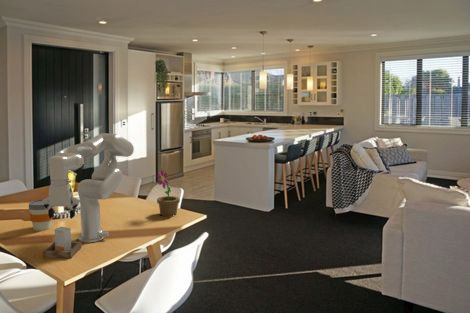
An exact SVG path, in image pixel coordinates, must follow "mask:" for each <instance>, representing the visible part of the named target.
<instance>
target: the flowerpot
mask: <svg viewBox="0 0 470 313" xmlns="http://www.w3.org/2000/svg"><path fill="white" fill-rule="evenodd" d="M167 177H168V172H164V170H163V168H160V173H158V174H157V178H158V179H159V182H158V185H159V186H161V185H162V188H163V189H166V188H167V190H166V191H164V194H166V196H165V195H163V196H159V197H158V198H156V203H157V204H158V208H159V215H160V214H161V215H164V216H171V217H174V216H173V215H175V216H177V213H178V206H179V205H178V204H179V203H180V201H181V200H180V197H178V196H174V195H173V196H172V195H171V196H170V193H171V192H172V191H171V187H169V180H168V179H166V178H167ZM161 215H160V216H161ZM164 216H163V217H164Z"/></svg>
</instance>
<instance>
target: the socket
mask: <svg viewBox="0 0 470 313" xmlns="http://www.w3.org/2000/svg"><path fill="white" fill-rule="evenodd" d="M81 249H82V242H81V241H71V250H70V251H56V250H55V241H54V242H52V243H51V244H50V245H49V246H47V247H46V249H44V250H43V251H42V258H43V259H72V258H73V257H74V256H75V255H76V254H77V253H78V252H79V251H80V250H81Z"/></svg>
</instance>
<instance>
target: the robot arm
mask: <svg viewBox="0 0 470 313" xmlns="http://www.w3.org/2000/svg"><path fill="white" fill-rule="evenodd" d="M134 148H135V147H134V145H133V143H132V142H130V140H128V139H127V138H125V137H123V136H122V135H119V134H117V133H106V132H105V133H104V132H101V133H99V134H97V135H95V136H94V137H91V138H89V140H86V141H85V142H80V143H78V144H74V145H71V146H67V147H65V148H63V149H61V150H59V151H57V152H56V153H55V154H54V156H53V155H52V156H50V158H49V159H48V160H49V163H48V164H49V174H50V185H49V186H48V187H49V188H48V197H46V198H43V199H41V200H42V203H43V205H44V207H46V208H47V210H48V215H49V218H52V217H53V218H54V215H55V214H54V207H58V208H59V207H61V208H62V207H67V208H69V218H70V219H73V218H75V216H76V210H75V209H76V208H77V207H80V225H81V235H79V236H78V242H81V243H86V244H87V243H95V242H98V241H101V240H102V241H103V239H104V238H105V237H109V235H110V234H109V231H107V230H105V231H104V230H103V228H101V227H102V226H101V205H100V201H99V200H102V201H103V200H107V199H109V198H110V197H111V196H112V195H113V194H114V192H115V191H116V190H117V188H118V187H119V186H120V185H121V183H122V180H123V171H122V170H121V169H119V168H118V167H119V164H118V161H117V157H123V158H127V157H128V158H129V157H130V156H133V153H134V151H135V150H134ZM103 151H104V152H103ZM102 152H103V153H104V157H103V158H104V159H103V161H102V162H101V163H100V164H99V165H98V166H97V167H96V168H95V169H94V171H93V173H91V179H90V178H89V179H88V178H87V179H84V180H83V179H82V180H81V181H80V182H79V183H78V185H77V195H78V198H79V199H78V198H76V197H74V194H73V193H74V192H73V188H72V184H71V183H72V179H70V178H69V170H79V168H82V166H83V165H84V161H85V160H84V159H88V158H89V159H90V158H94V157H95V156H97V155H99V154H100V153H102ZM48 200H49V204H47V202H46V201H48ZM74 203H75V204H74ZM79 204H80V206H79ZM52 207H53V208H52Z"/></svg>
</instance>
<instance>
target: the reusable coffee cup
mask: <svg viewBox="0 0 470 313" xmlns="http://www.w3.org/2000/svg"><path fill="white" fill-rule="evenodd" d="M42 200H43V199H35V200H32V201H30V202H29V203H28V209H29V219H30V222H31V223H32V228H33V230H34V231H39V232H41V231H40V230H42V231H46V230H50V229H51V228H52V222H53V221H52V220H53V219H54V217H52V218H49V215H48V210H47V208H46V207H44V205H43V203H42ZM46 202H47V204H49V200H48V201H46ZM52 208H53V209H54V206H53V207H52Z"/></svg>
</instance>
